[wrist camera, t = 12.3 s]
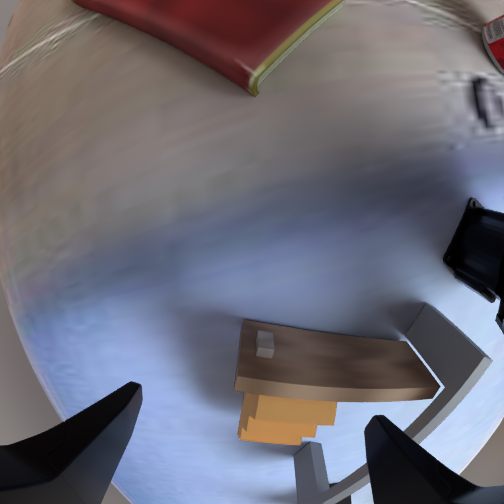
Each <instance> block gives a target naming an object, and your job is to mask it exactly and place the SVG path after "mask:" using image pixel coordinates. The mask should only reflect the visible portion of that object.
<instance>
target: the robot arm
mask: <svg viewBox="0 0 504 504" xmlns="http://www.w3.org/2000/svg"><path fill="white" fill-rule="evenodd" d="M472 202H474V205H472ZM448 257H449V260H448V261H447V258H448ZM443 262H444V263H445V264H446V265H447V266H449V267H450V268H451V269H453V270H454V271H455V274H454V276H455V278H456V279H458V280H459V281H460V282H461V283H463V284H464V285H465V286H466V287H468V288H469V289H471V290H472V291H474V292H476V293H477V294H479V295H480V296H482V297H483V298H484V299H486V300H487V301H489V302H490V303H493V302H495V300H496V298H497V299H498V300H500V305H499V310H498V313H497V315H496V320H495V321H496V322H497V324H498V325H499V327H500V329H501V330H502V332H503V334H504V213H501V212H497V211H493V210H489V209H485V208H484V207H483V206H482V205H481V204H480V203H479V202H478V201H477V200H476V199H475V198H470V200H469V202H468V204H467V207H466V209H465V212H464V214H463V216H462V219H461V221H460V223H459V226H458V228H457V230H456V232H455V234H454V236H453V238H452V241H451V243H450V245H449V247H448V249H447V251H446V253H445V255H444V257H443ZM142 400H143V397H142V386H141V384H139V383H136V382H132V381H131V382H129V383H127V384H125V385H124V386H122V387H121V388H119V389H117V390H116V391H114V392H113V393H111V394H109V395H108V396H106V397H104V398H103V399H101V400H99V401H98V402H96V403H94V404H93V405H91V406H89V407H88V408H86V409H84V410H83V411H81V412H79V413H78V414H76V415H74V416H72V417H71V418H69V419H67V420H66V421H65V422H62V423H60V424H58V425H57V426H55V427H53V428H51V429H49V430H47V431H45V432H42V433H40V434H38V435H35V436H33V437H30V438H27V439H25V440H22V441H19V442H16V443H13V444H10V445H2V446H0V504H101V502H102V500H103V498H104V495H105V493H106V491H107V489H108V486H109V484H110V482H111V480H112V477H113V475H114V473H115V471H116V469H117V466H118V464H119V462H120V460H121V458H122V455H123V453H124V451H125V449H126V447H127V445H128V443H129V440H130V438H131V436H132V433H133V430H134V427H135V423H136V420H137V417H138V414H139V411H140V408H141V405H142ZM364 435H365V446H366V459H367V466H368V472H369V477H370V483H371V488H372V494H373V500H374V504H504V486H493V487H480V486H477V485H474V484H472V483H471V482H469V481H468V480H466V479H464V478H463V477H461V476H459V475H458V474H456V473H455V472H453V471H452V470H450V469H449V468H448V467H446V466H445V465H444V464H442V463H441V462H440V461H438V460H437V459H436V458H435V457H433V456H432V455H431V454H430V453H428V452H427V451H426V450H425V449H424V448H422V447H421V446H420V445H419V444H417V443H416V442H415V441H414V440H413V439H411V438H410V437H409V436H408V435H407V434H405V433H404V432H403V431H402V430H401V429H399V428H398V427H397V426H396V425H395V424H393V423H392V422H391V421H390V420H389V419H388V418H386V417H385V416H384V415H375V416H373V417H372V419H371V420H370V422H369V423H368V424H367V426H366V427H365V430H364Z"/></svg>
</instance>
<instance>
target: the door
mask: <svg viewBox="0 0 504 504" xmlns="http://www.w3.org/2000/svg"><path fill="white" fill-rule="evenodd" d="M439 388H440V385H439V384H438V382H437V381H436V380H435V378H434V377H433V376H432V374H431V373H430V372H429V370H428V369H427V368H426V366H425V365H424V364H423V362H422V361H421V360H420V358H419V357H418V356H417V354H416V353H415V352H414V351H413V349H412V348H411V347H410V345H409V344H408V343H407V342H406V341H396V340H385V339H375V338H365V337H356V336H347V335H339V334H331V333H324V332H317V331H310V330H303V329H297V328H290V327H284V326H278V325H272V324H266V323H261V322H255V321H250V320H245V319H243V324H242V328H241V333H240V342H239V351H238V359H237V368H236V377H235V385H234V391H239V392H245V393H251V394H258V395H265V396H273V397H282V398H291V399H302V400H315V401H334V402H392V401H410V400H423V399H433V397H434V396H435V394H436V393H437V391H438V389H439Z"/></svg>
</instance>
